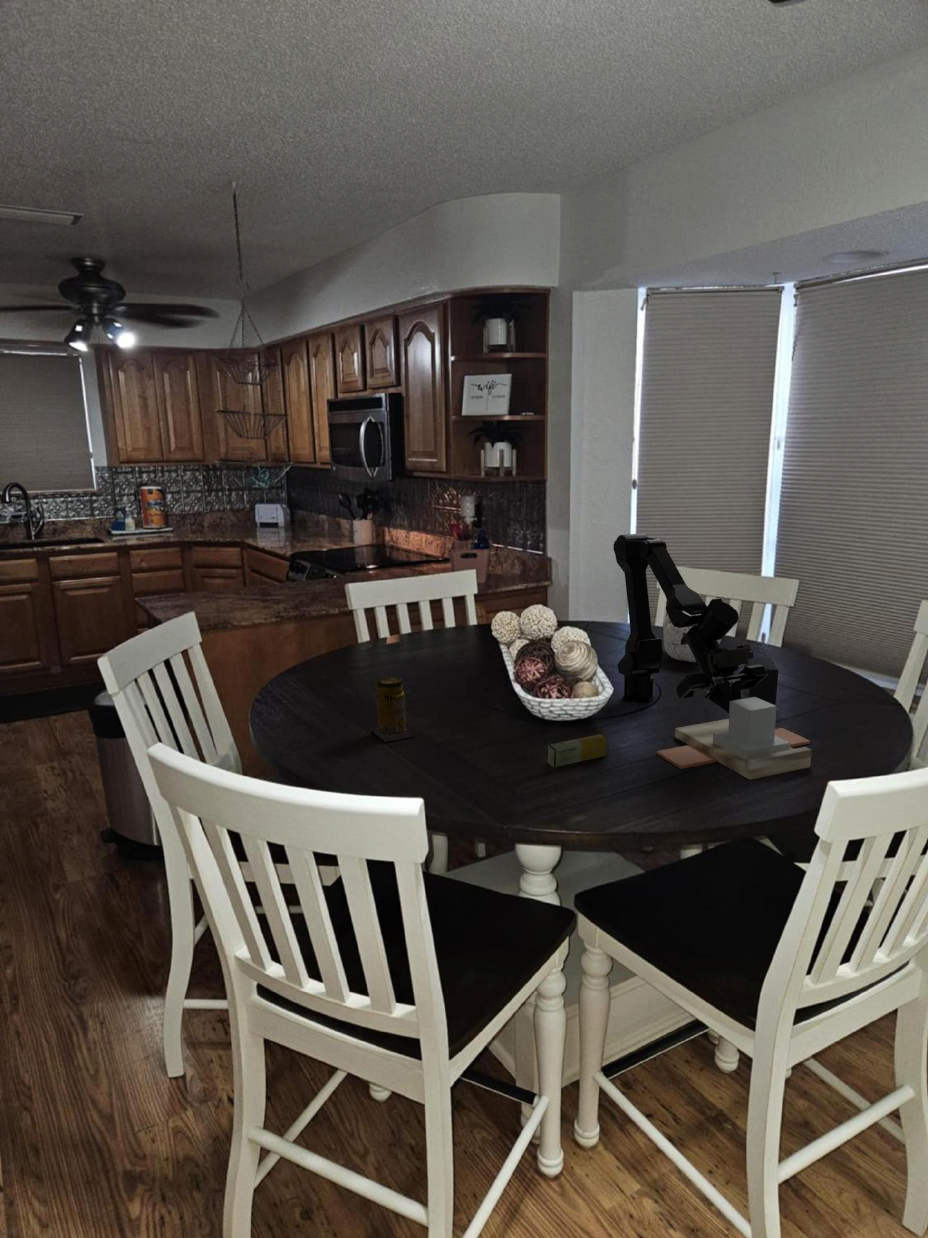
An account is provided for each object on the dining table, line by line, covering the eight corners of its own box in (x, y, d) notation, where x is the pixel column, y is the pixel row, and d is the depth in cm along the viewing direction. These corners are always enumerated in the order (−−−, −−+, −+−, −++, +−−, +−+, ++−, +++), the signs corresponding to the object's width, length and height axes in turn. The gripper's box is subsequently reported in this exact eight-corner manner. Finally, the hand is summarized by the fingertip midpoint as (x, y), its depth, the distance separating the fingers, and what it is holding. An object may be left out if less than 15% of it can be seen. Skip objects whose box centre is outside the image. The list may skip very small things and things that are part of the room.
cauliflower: (657, 617, 235) (685, 580, 223) (710, 644, 235) (741, 608, 223) (646, 661, 221) (675, 624, 209) (702, 690, 220) (734, 655, 209)
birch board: (675, 737, 165) (675, 721, 165) (730, 727, 170) (730, 711, 169) (749, 779, 144) (750, 761, 144) (810, 767, 149) (811, 749, 148)
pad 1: (656, 754, 157) (656, 751, 157) (690, 747, 160) (690, 744, 160) (680, 769, 150) (680, 766, 150) (715, 762, 152) (716, 759, 152)
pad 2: (751, 736, 165) (751, 733, 165) (781, 730, 167) (781, 727, 167) (778, 749, 157) (778, 746, 157) (810, 743, 160) (810, 740, 160)
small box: (777, 713, 177) (780, 669, 175) (746, 712, 179) (749, 668, 176) (769, 698, 188) (772, 656, 185) (740, 697, 189) (742, 655, 186)
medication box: (553, 769, 152) (553, 750, 151) (546, 762, 155) (547, 744, 153) (606, 756, 157) (607, 738, 155) (599, 750, 159) (600, 732, 158)
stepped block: (712, 742, 157) (714, 699, 155) (753, 735, 160) (756, 692, 158) (746, 761, 148) (749, 715, 146) (789, 752, 151) (792, 707, 149)
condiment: (401, 725, 177) (399, 674, 174) (416, 737, 169) (413, 684, 167) (370, 731, 174) (367, 679, 171) (384, 744, 166) (381, 689, 164)
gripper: (686, 636, 154) (721, 707, 146) (764, 626, 160) (801, 693, 152) (662, 664, 163) (693, 733, 155) (736, 654, 169) (770, 719, 161)
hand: (740, 719), depth 156 cm, fingers closed
